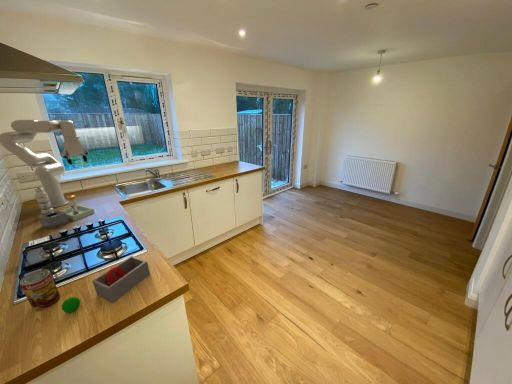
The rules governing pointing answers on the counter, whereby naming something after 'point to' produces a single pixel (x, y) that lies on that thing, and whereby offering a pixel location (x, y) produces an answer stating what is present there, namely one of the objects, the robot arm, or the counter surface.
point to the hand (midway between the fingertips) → (78, 162)
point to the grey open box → (122, 279)
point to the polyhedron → (70, 304)
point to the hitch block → (53, 219)
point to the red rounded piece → (109, 274)
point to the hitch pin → (73, 204)
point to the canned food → (40, 289)
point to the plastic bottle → (43, 201)
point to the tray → (83, 212)
